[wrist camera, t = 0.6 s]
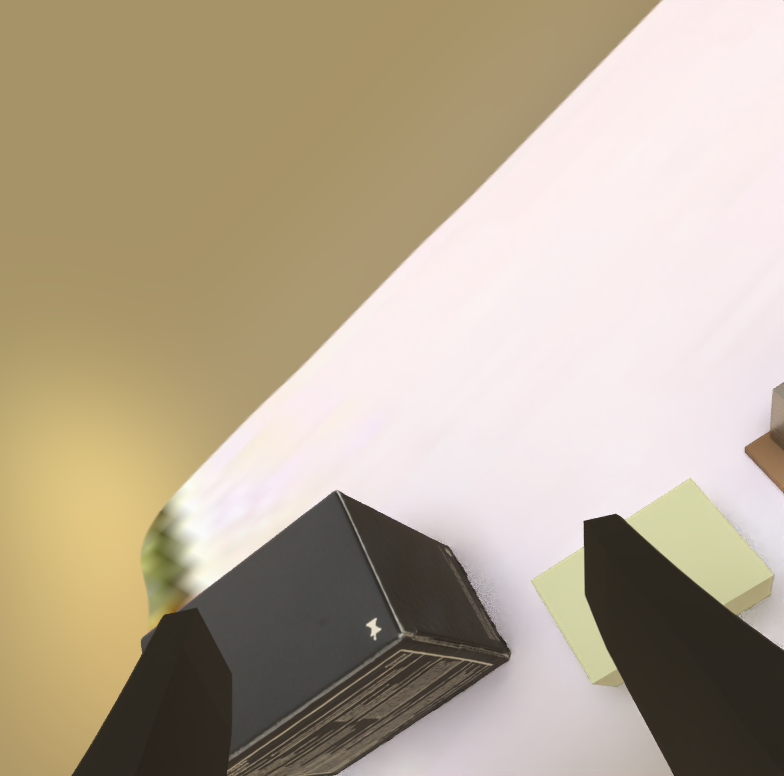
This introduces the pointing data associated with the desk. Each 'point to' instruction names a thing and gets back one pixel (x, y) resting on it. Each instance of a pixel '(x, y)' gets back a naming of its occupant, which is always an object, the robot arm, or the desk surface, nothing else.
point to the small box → (342, 639)
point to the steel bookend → (777, 416)
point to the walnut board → (768, 458)
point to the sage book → (679, 545)
